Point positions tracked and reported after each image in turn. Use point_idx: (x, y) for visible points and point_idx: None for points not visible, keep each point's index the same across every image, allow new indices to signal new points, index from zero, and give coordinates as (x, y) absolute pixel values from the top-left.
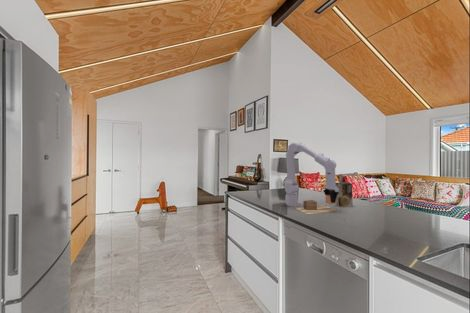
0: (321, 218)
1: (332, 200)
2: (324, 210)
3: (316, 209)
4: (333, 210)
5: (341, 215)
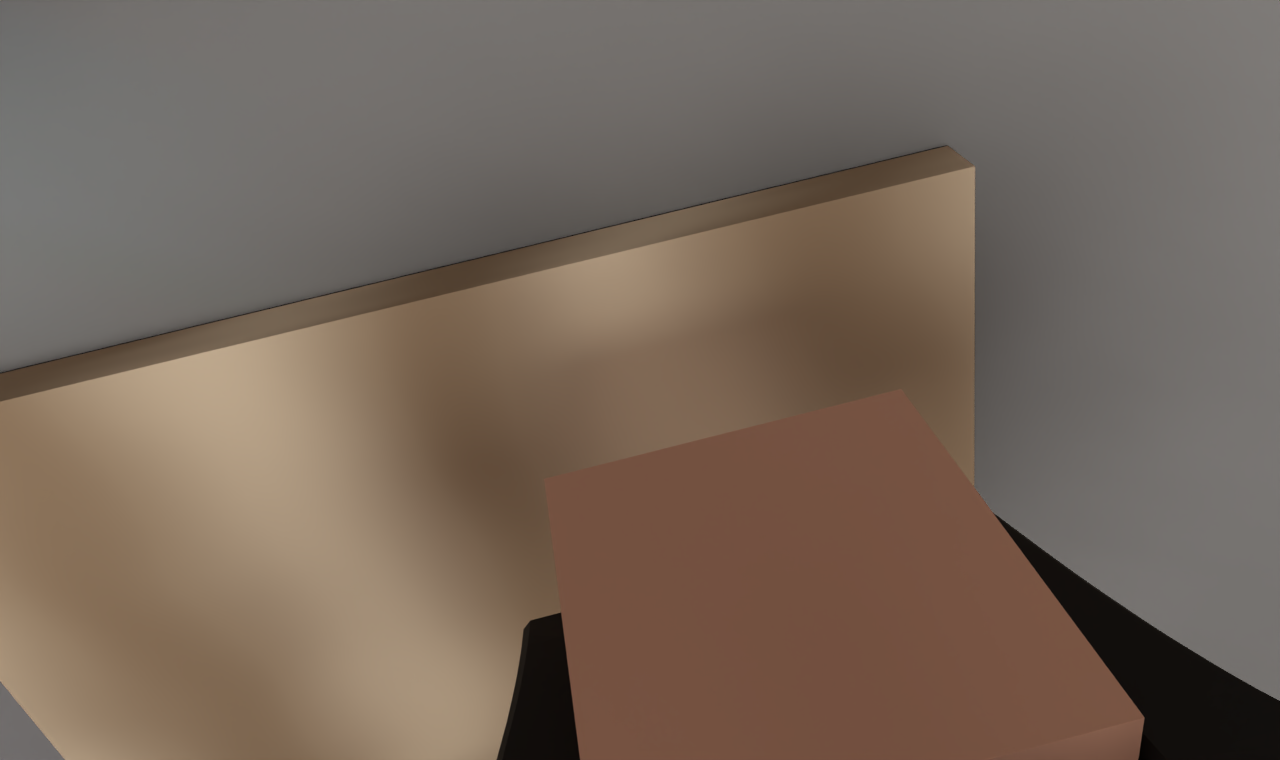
0: None
1: None
2: None
3: None
4: (796, 357)
5: (1225, 224)
